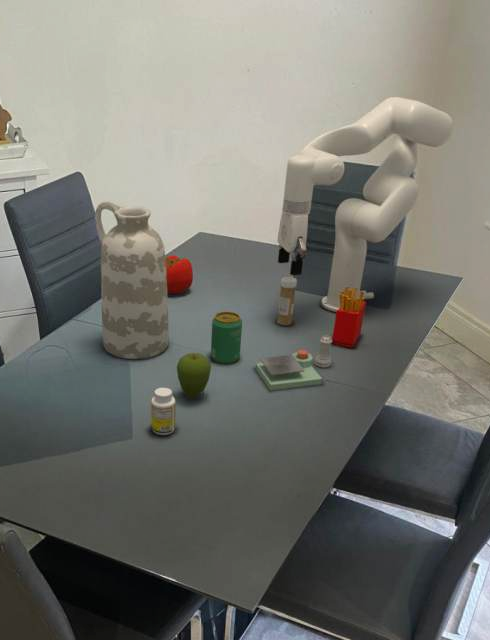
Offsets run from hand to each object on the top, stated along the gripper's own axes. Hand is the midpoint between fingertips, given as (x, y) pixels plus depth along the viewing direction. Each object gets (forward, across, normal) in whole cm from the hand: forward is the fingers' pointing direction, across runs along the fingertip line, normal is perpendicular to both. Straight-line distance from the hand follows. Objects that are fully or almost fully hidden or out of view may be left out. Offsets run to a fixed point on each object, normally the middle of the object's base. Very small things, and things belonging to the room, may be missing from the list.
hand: (289, 268), depth 211 cm
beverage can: (+17, +18, -23) cm, 34 cm away
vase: (+18, +4, -46) cm, 50 cm away
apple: (+18, +36, -37) cm, 55 cm away
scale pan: (+13, +32, -12) cm, 37 cm away
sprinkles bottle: (+17, 0, +1) cm, 17 cm away
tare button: (+14, +28, -5) cm, 32 cm away
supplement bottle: (+18, +50, -48) cm, 72 cm away
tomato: (+17, -32, -26) cm, 45 cm away
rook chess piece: (+17, +28, +1) cm, 32 cm away
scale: (+17, +32, -10) cm, 37 cm away
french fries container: (+17, +15, +14) cm, 26 cm away
